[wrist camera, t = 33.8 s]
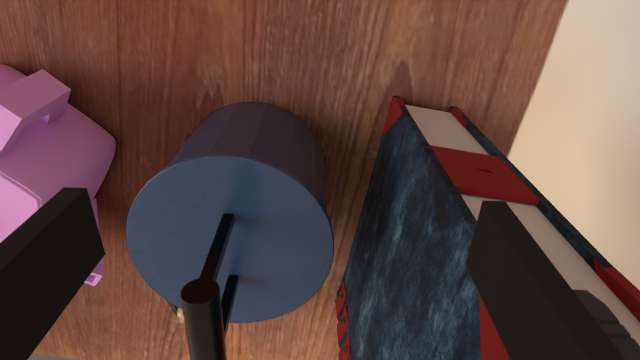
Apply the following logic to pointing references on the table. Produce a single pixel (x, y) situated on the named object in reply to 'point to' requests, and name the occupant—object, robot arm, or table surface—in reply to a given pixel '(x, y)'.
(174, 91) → the table surface
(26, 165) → the teakettle
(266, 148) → the pot
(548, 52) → the table surface
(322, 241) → the lid
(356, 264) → the book
